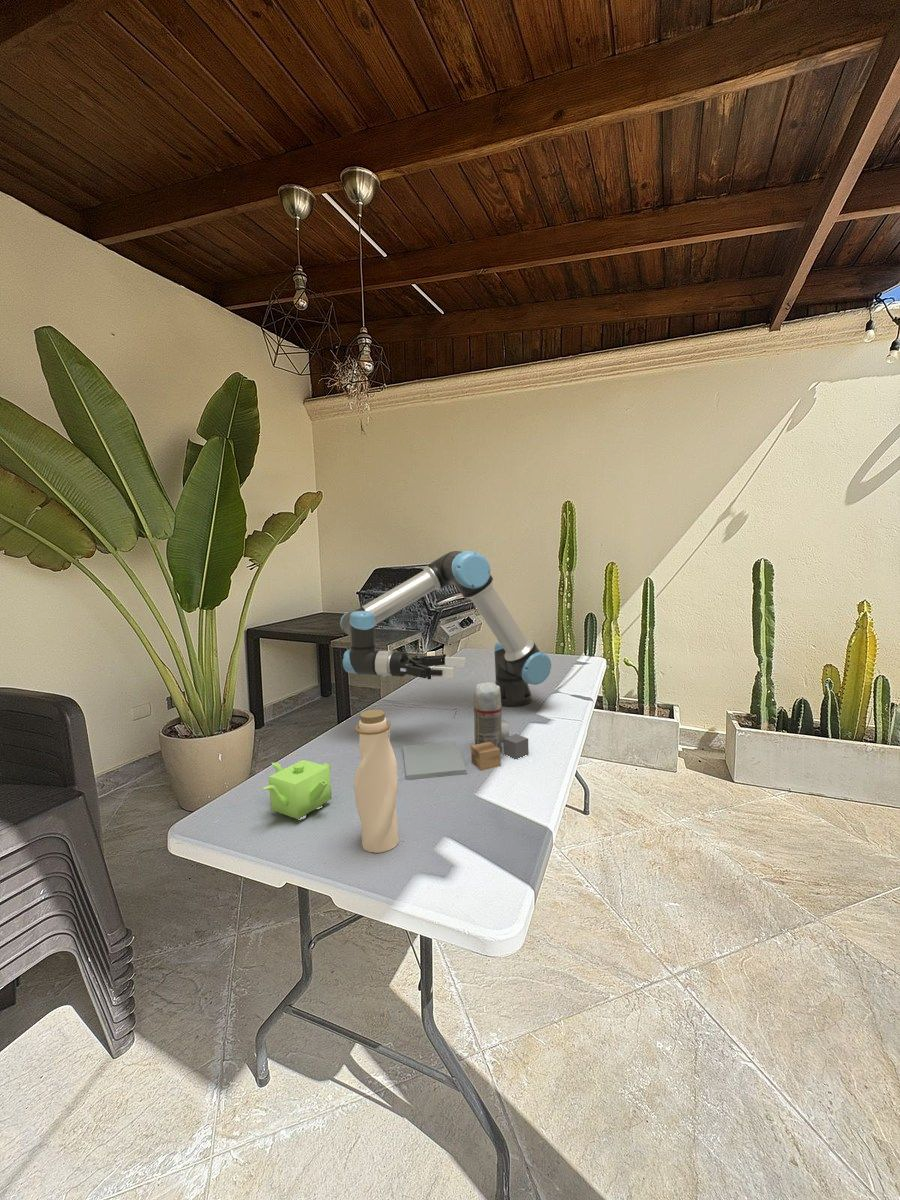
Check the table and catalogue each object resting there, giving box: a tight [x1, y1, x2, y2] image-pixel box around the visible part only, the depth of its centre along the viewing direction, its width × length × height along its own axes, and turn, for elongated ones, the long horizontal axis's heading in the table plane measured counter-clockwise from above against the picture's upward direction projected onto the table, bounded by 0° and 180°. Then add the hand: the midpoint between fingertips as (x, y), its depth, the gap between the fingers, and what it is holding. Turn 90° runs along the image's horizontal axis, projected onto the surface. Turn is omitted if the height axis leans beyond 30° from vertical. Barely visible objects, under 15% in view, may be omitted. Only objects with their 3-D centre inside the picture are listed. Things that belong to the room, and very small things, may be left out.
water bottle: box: [353, 709, 400, 854], centre depth 111 cm, size 10×9×28 cm
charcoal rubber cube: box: [502, 733, 530, 760], centre depth 153 cm, size 5×5×5 cm
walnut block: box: [470, 742, 502, 771], centre depth 147 cm, size 6×6×5 cm
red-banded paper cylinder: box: [473, 681, 503, 752], centre depth 156 cm, size 8×8×20 cm
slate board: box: [402, 741, 467, 781], centre depth 151 cm, size 20×16×1 cm
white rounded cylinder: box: [501, 719, 510, 743], centre depth 165 cm, size 6×6×5 cm
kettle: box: [262, 759, 333, 820], centre depth 126 cm, size 15×14×11 cm
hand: (460, 667), depth 157 cm, fingers open, 13 cm apart
